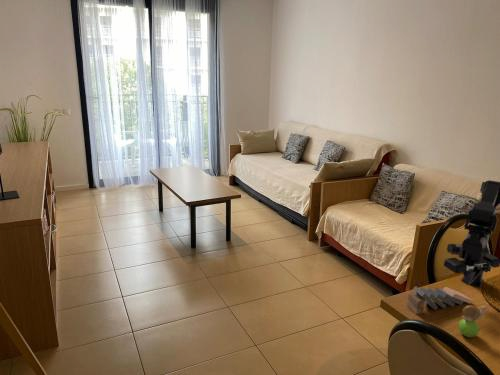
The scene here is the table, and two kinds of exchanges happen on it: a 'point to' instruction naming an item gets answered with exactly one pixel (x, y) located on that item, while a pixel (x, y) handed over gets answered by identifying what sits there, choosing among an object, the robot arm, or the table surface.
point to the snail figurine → (471, 320)
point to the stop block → (416, 303)
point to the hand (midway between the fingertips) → (467, 284)
